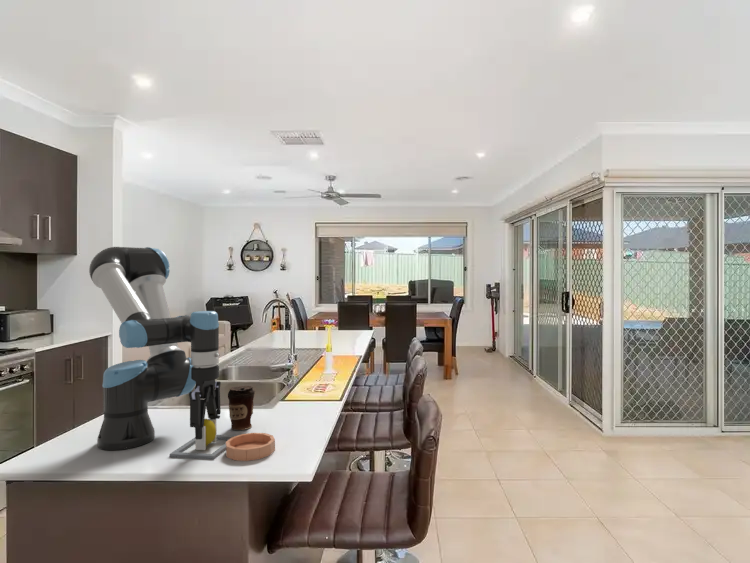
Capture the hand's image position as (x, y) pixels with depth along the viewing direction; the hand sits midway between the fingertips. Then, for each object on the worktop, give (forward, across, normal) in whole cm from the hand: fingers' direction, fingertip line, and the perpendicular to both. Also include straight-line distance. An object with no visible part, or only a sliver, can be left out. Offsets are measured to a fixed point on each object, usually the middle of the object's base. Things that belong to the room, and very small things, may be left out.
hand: (206, 445), depth 134 cm
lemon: (+1, 0, 0) cm, 1 cm away
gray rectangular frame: (+1, 0, 0) cm, 1 cm away
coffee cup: (+1, +17, -3) cm, 18 cm away
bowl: (0, -2, -14) cm, 14 cm away
